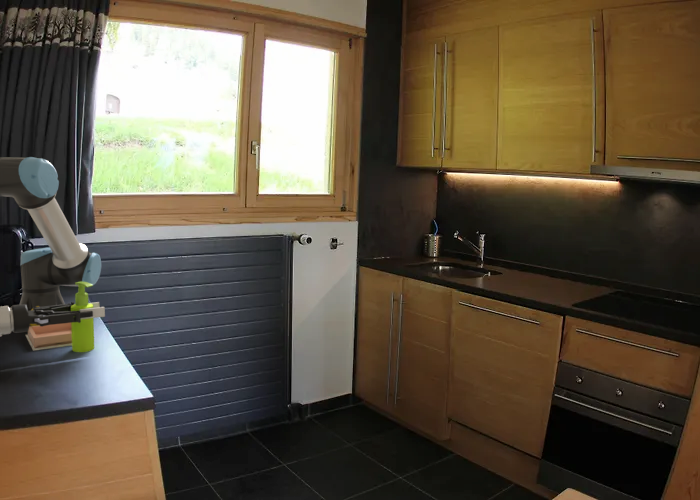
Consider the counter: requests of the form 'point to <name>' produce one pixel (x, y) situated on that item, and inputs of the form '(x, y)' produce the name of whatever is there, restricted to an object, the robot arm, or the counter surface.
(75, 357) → the counter surface
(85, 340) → the soap dispenser
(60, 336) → the dish
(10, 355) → the counter surface
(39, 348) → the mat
